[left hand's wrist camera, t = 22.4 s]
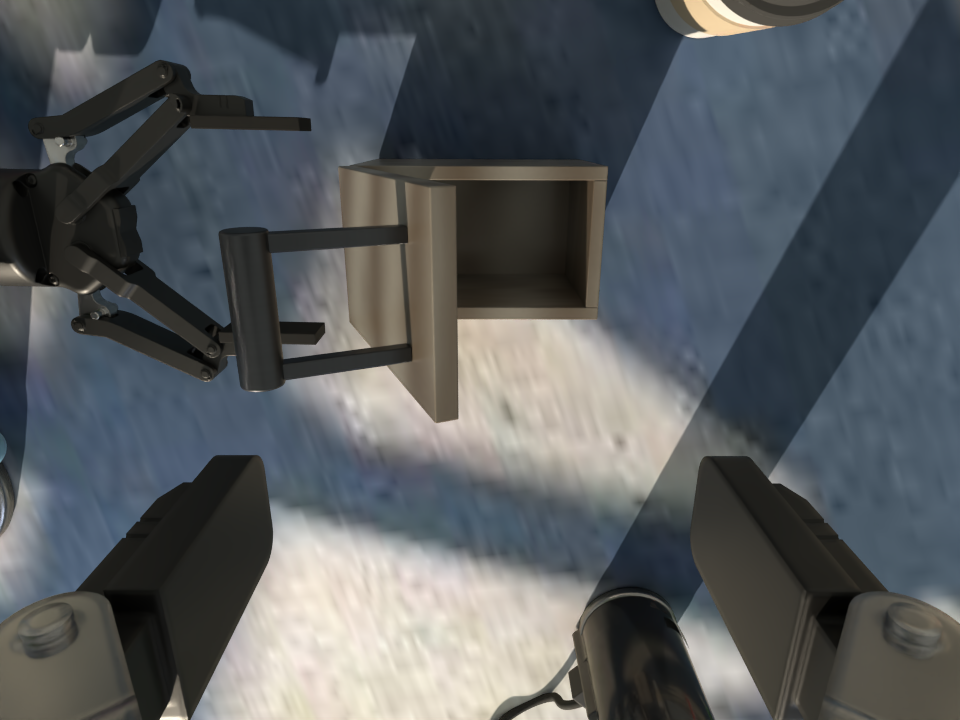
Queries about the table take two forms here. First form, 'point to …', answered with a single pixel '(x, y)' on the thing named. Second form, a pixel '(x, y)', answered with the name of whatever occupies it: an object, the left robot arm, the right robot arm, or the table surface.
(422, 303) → the lid
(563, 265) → the chest
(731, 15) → the coffee cup
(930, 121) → the table surface
